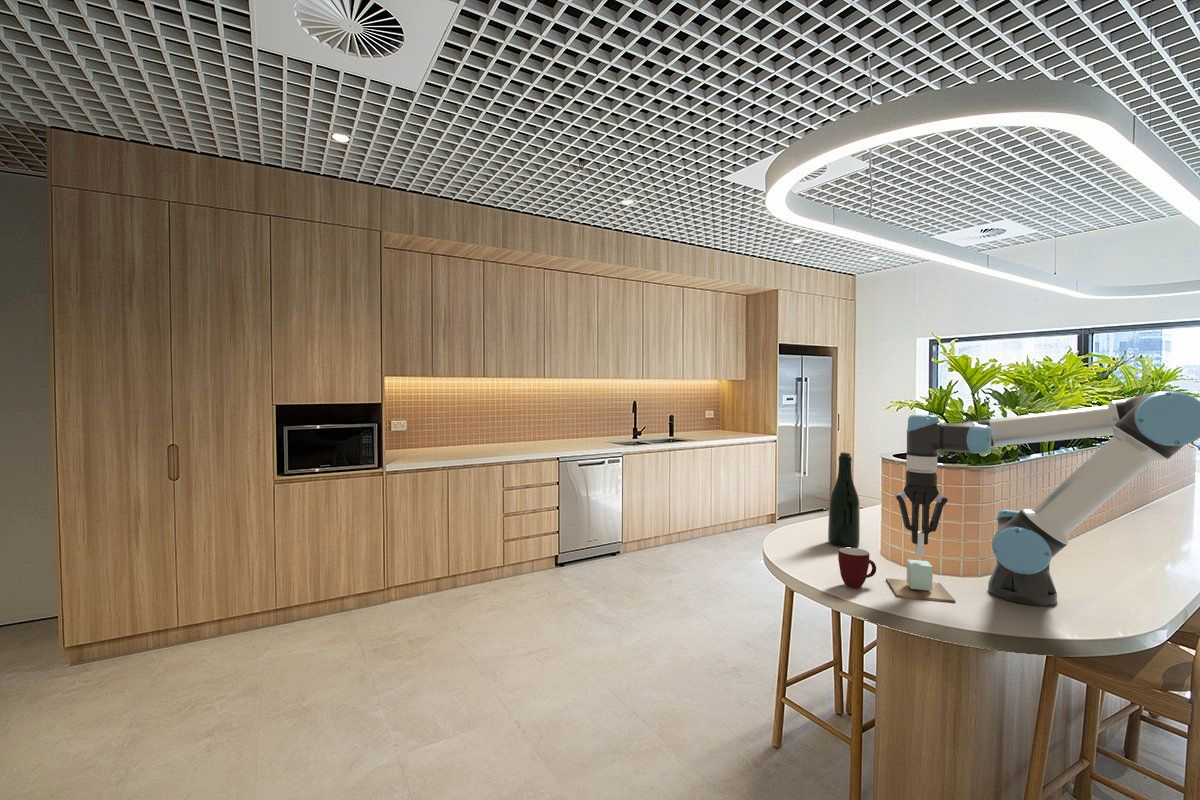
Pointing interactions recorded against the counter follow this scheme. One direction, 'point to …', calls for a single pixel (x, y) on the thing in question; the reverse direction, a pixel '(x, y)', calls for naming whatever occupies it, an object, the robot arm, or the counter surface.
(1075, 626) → the counter surface
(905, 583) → the brown square plate
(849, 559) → the mug
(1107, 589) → the counter surface
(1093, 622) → the counter surface
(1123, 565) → the counter surface
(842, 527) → the dark green wine bottle
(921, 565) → the pale green block
